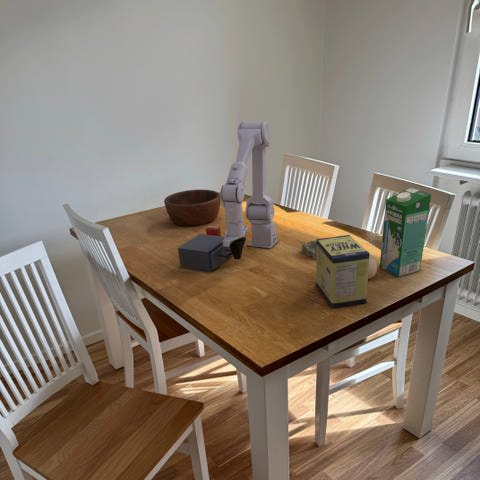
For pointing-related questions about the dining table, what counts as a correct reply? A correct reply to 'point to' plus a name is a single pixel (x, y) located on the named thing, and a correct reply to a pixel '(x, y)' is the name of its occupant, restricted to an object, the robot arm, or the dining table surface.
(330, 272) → the protein box
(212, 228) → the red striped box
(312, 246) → the egg carton
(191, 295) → the dining table surface
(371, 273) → the egg
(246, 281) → the dining table surface
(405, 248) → the milk carton
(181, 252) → the cabinet
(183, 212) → the wooden bowl
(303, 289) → the dining table surface
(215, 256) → the drawer
